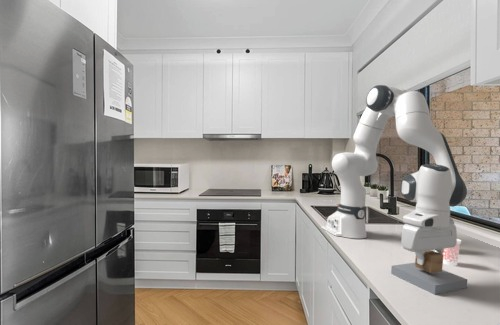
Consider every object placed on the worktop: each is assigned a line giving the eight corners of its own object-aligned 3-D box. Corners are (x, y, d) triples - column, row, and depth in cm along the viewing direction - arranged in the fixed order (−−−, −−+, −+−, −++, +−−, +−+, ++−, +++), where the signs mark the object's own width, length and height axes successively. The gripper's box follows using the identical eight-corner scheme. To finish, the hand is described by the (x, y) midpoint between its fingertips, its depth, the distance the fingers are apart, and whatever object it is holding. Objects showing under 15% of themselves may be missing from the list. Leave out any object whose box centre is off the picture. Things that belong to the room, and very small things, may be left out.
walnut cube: (415, 266, 87) (416, 250, 87) (426, 264, 89) (427, 249, 89) (430, 273, 82) (432, 256, 82) (442, 271, 84) (443, 254, 84)
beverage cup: (462, 265, 101) (465, 226, 101) (454, 267, 98) (457, 227, 97) (443, 259, 106) (446, 222, 106) (435, 261, 103) (438, 223, 102)
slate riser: (391, 273, 89) (391, 265, 89) (421, 268, 95) (421, 261, 95) (434, 294, 76) (435, 285, 76) (466, 287, 82) (467, 279, 82)
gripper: (443, 214, 92) (440, 256, 92) (398, 216, 84) (395, 262, 85) (464, 219, 86) (461, 263, 87) (418, 221, 78) (415, 270, 79)
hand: (428, 263), depth 85 cm, fingers closed on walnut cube, 5 cm apart
